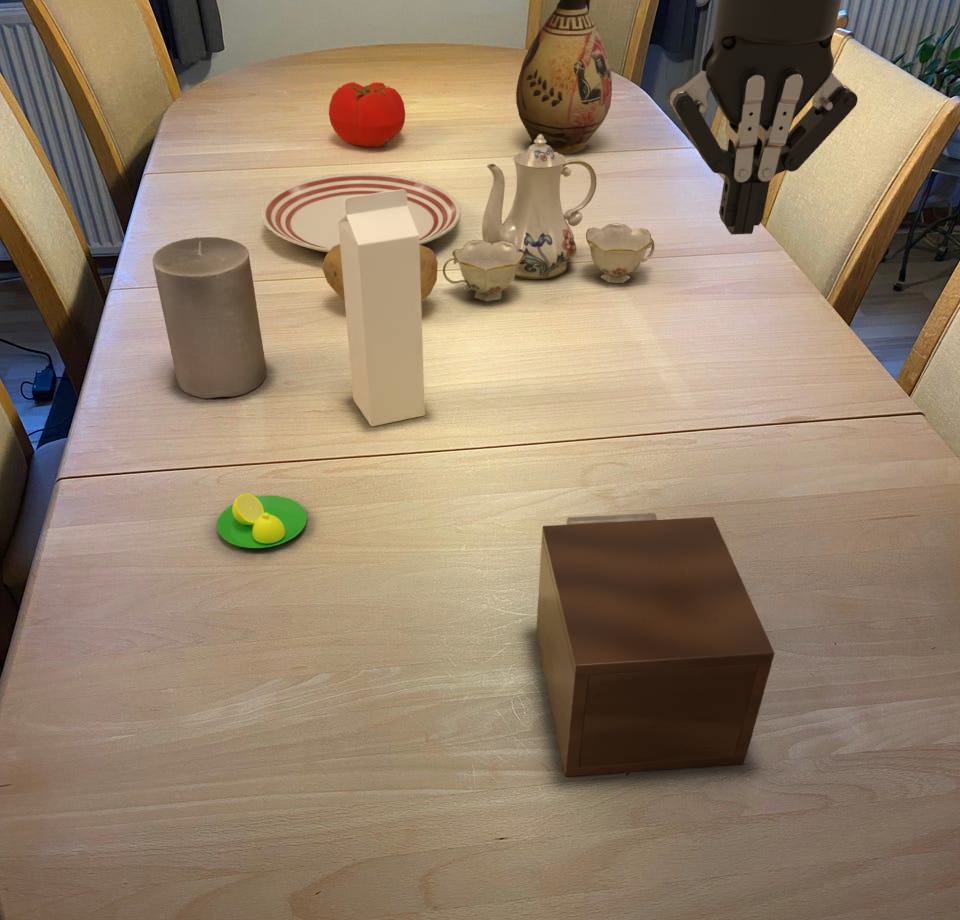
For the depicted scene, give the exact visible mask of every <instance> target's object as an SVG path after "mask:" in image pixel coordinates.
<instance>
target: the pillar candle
mask: <svg viewBox="0 0 960 920" xmlns="http://www.w3.org/2000/svg"><path fill="white" fill-rule="evenodd" d="M152 267H153V271H154V276H155V281H156V285H157V290H158V296H159V299H160V304H161V310H162V314H163V319H164V324H165V328H166V334H167V338H168V343H169V348H170V352H171V358H172V362H173V367H174V372H175V378H176V381H177V385H178V387H179V388H180V389H181V390H182V391H183V392H185V393H186V394H188V395H190V396H193V397H196V398H201V399H214V398H221V397H222V398H225V397H227V398H228V397H239V396H243V395H245V394H247V393H249V392H253V390H255V389H257V388H259V386H261V385H262V383H263V382H264V380H265V379H266V376H267V372H268V370H267V369H268V368H267V363H266V357H265V351H264V345H263V339H262V338H263V337H262V331H261V326H260V319H259V311H258V305H257V299H256V292H255V286H254V285H255V284H254V278H253V272H252V266H251V259H250V252H249V249H248V248H247V247H246V246H245V245H244V244H242V243H241V242H239V241H237V240H233V239H230V238H223V237H217V236H216V237H215V236H214V237H213V236H203V237H190V238H184V239H180V240H177V241H172V242H170V243H168V244H166V245H164V246H162V247H160V248H159V249H158V250H156V251H155V253H154V254H153V257H152Z"/></svg>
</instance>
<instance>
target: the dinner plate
mask: <svg viewBox="0 0 960 920" xmlns="http://www.w3.org/2000/svg"><path fill="white" fill-rule="evenodd" d="M401 189H404V190H405V191H406V192H407V206H408V209H409V211H410V214H411V216H412V219H413V221H414V224H415V226H416V229H417V231H418V234H419V244H420V245H425V244H427V243H429V242H432V241H434V240H436V239H439V238H441V237H443V236H444V235H446V234H447V233H449V232H450V231H451V230H453V229H454V227H456V225H458V222H459V221H460V218H461V212H462V211H461V206H460V204H459V202H458V201H457V199H456V198H455V197H454V196H453V195H452V194H450V193H449V192H448V191H446V190H445V189H443V188H441V187H439V186H437V185H435V184H432V183H429V182H427V181H423V180H420V179H415V178H412V177H406V176H401V175H396V174H387V173H373V172H359V173H358V172H357V173H356V172H355V173H352V172H351V173H341V174H340V173H339V174H334V175H333V174H332V175H326V176H320V177H316V178H310V179H307V180H304V181H300V182H297V183H294V184H291V185H289V186H287V187H285V188H283V189H281V190H279V191H277V192H275V193H274V194H272V196H270V197H269V198H268V199H267V200H266V201H265V202H264V204H263V205H262V208H261V211H260V212H261V213H260V214H261V216H260V217H261V220H262V222H263V224H264V226H265V227H266V228H267V229H268V230H269V231H271V233H273V234H275V235H276V236H278V237H279V238H281V239H283V240H285V241H288V242H289V243H292V244H295V245H297V246H301V247H303V248H307V249H309V250H314V251H318V252H323V253H328V252H329V251H330V250H331V249H332V248H333V247H334V246H336V245H338V244H340V238H339V227H338V222H339V221H340V220H341V219H342V218H343V217H344V216H345V215H346V208H345V200H346V198H347V197H352V196H359V195H366V194H373V193H380V192H387V191H394V190H401Z"/></svg>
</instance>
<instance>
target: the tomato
mask: <svg viewBox="0 0 960 920" xmlns="http://www.w3.org/2000/svg"><path fill="white" fill-rule="evenodd" d="M328 107H329V108H328V116H329V122H330V125H331V127H332V129H333V130H334V132H335V133H336V134H337V136H338V137H339V138H340V139H341V140H343V141H344V142H346V143H349V144H351V145H355V146H360V147H361V146H362V147H369V148H370V147H371V148H374V147H375V148H376V147H379V146H381V145H383V144H385V143H387V141H388V140H389V141H390V140H392V139H394V138H395V137H396V136H397V135H399V134H400V133H401V131H402V129H403V127H404V125H405V122H406V108H405V103H404V100H403V98H402V96H401V94H400V93H399V92H398V91H397V89H395V88H392V87H391V85H390V86H389V85H385V83H384V82H374V81H373V82H371V83H370V84H368V85H365V86H363V85H361V84H359V83H357V82H355V81H353V82H348V83H345V84H342V86H341V87H340V86H339V87H338V88H337V89H336V90H335V92H333V94H332V96H331V99H330V102H329V106H328Z"/></svg>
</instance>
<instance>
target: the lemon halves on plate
mask: <svg viewBox="0 0 960 920" xmlns="http://www.w3.org/2000/svg"><path fill="white" fill-rule="evenodd" d="M307 519H308V516H307V513H306V510H305V509H304V507H303V506H302V505H301V504H299V503H298V501H295V500H293V499H291V498H288V497H285V496H279V495H269V494H268V495H256V496H255V495H253V494H251V493H249V492H244V493H240V494H239V495H238V496H237V497H236V498H235V499H234V501H233V503H232V504H231V505H229V506H228V507H227V508H225V510H223V511H222V512H221V513H220V515H219V517H218V519H217V522H216V528H217V529H216V530H217V532H218V534H219V536H220V537H221V538H222V539H223V540H225V541H226V542H228V543H230V544H231V545H234V546H237V547H240V548H246V549H247V548H248V549H262V548H263V549H265V548H271V547H274V546H275V547H276V546H278V545H281V544H284V543H286V542H288V541H290V540H292V539H293V538H295V537H296V536H298V535H299V534H300V533H301V532H302V531H303V529H304V528H305V526H306V523H307Z"/></svg>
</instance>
